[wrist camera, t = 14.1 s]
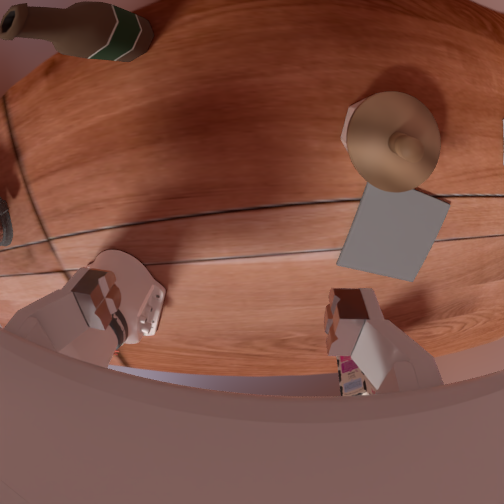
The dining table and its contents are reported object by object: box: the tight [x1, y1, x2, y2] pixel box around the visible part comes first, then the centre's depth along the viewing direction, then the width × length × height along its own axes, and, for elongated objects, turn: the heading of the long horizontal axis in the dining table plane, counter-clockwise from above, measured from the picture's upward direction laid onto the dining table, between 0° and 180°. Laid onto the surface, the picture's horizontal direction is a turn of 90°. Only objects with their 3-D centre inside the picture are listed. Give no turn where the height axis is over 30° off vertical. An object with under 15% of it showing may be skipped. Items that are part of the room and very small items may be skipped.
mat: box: [336, 182, 450, 282], centre depth 41 cm, size 16×16×1 cm
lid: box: [346, 91, 441, 193], centre depth 27 cm, size 13×13×6 cm
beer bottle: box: [0, 2, 154, 62], centre depth 18 cm, size 8×8×24 cm
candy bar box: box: [336, 356, 377, 396], centre depth 48 cm, size 11×5×16 cm, turn 36°
